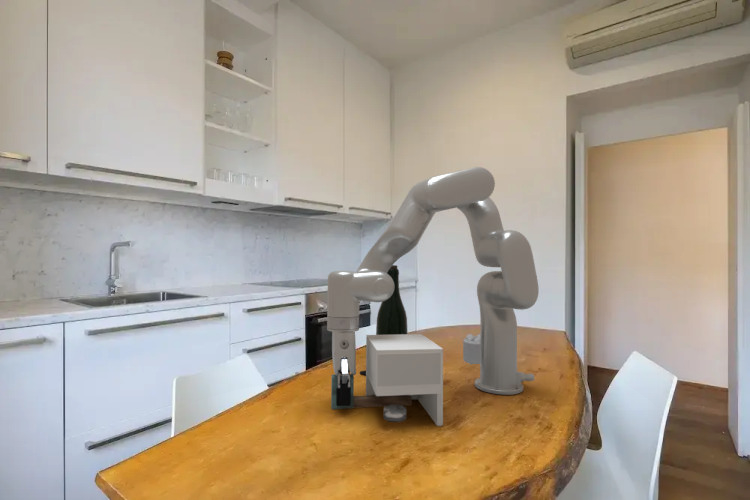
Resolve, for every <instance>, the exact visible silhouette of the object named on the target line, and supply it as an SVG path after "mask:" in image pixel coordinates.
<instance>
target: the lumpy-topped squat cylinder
mask: <svg viewBox="0 0 750 500" xmlns="http://www.w3.org/2000/svg"><path fill="white" fill-rule="evenodd" d="M462 341H463V342H462V343H463V345H462V351H463V352H462V355H463V356H462V359H463V360H464V361H465V362H467V363H469V364H468V365H472V364H480V333H479V334H477V335H476V336H475V335H473V334H472V333H469V334H467V335H466V337H465V338H463V340H462ZM463 360H462V361H463ZM464 361H463V362H464ZM465 362H464V363H465ZM467 363H466V364H467Z"/></svg>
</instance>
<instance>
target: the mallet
mask: <svg viewBox="0 0 750 500" xmlns="http://www.w3.org/2000/svg"><path fill="white" fill-rule="evenodd" d="M341 378H342V377H340V379H341ZM354 384H355V377H354V375H353V374H351V373H350V387H351V405H350V406H337V405H336V387H338V377H337V376H336V375H335V374H331V385H330V387H331V389H330V390H331V395H330V396H331V397H330V398H331V399H330V405H331V406H330V407H331V410H343V409H355V408H370V407H371V408H372V407H373V408H375V407H377V408H378V407H379V408H380V407H385V406H387V405H393V404H395V405H401V406H412V400H411V396H410V395H393V396H376V395H373V396H366V395H356V396H355V395H354V391H355V388H354V386H355V385H354Z"/></svg>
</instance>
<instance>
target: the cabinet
mask: <svg viewBox="0 0 750 500" xmlns="http://www.w3.org/2000/svg"><path fill="white" fill-rule="evenodd" d="M365 337H366V339H365V340H366V341H365V342H366V344H365V346H366V348H365V354H366V355H365V357H366V358H365V370H366V374H365V396H373V395H376V396H393V395H410V396H411V401H415V400H417V401H418V402H419V403H420V404H421V406H422V408H424V410H425V411H426V413H427V414H428V415H429V416H430V418H431V419H432V421H433V422H434V424H435V425H436V426H437V427H441V426H444V348H443V347H441V346H440V345H438V344H436V343H435V342H434V341H432V340H431V339H429V338H428V337H427V336H425V335H424V334H422V333H414V334H413V333H411V334H410V333H408V334H397V335H376V334H366V336H365Z"/></svg>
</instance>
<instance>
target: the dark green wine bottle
mask: <svg viewBox="0 0 750 500" xmlns="http://www.w3.org/2000/svg"><path fill="white" fill-rule="evenodd" d="M387 274H388V275H389V276H390V277H391V278H392V279H393V282H394V292H393V294H392V295H391V297H390V298H389V299H387V300H385V301H383V302H380V303H381V304H380V306H379V308H378V311H377V317H376V323H375V324H376V326H375V327H376V328H375V330H376V331H375V335H397V334H409V333H408V317H407V316H408V315H407V312H406V309H405V306H404V303H403V300H402V298H401V297H402V296H401V293H400V280H399V277H400V271H399V269H398V265H394V264H393V265H392V266H391V268H390V269H389V270H388V272H387Z"/></svg>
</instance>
